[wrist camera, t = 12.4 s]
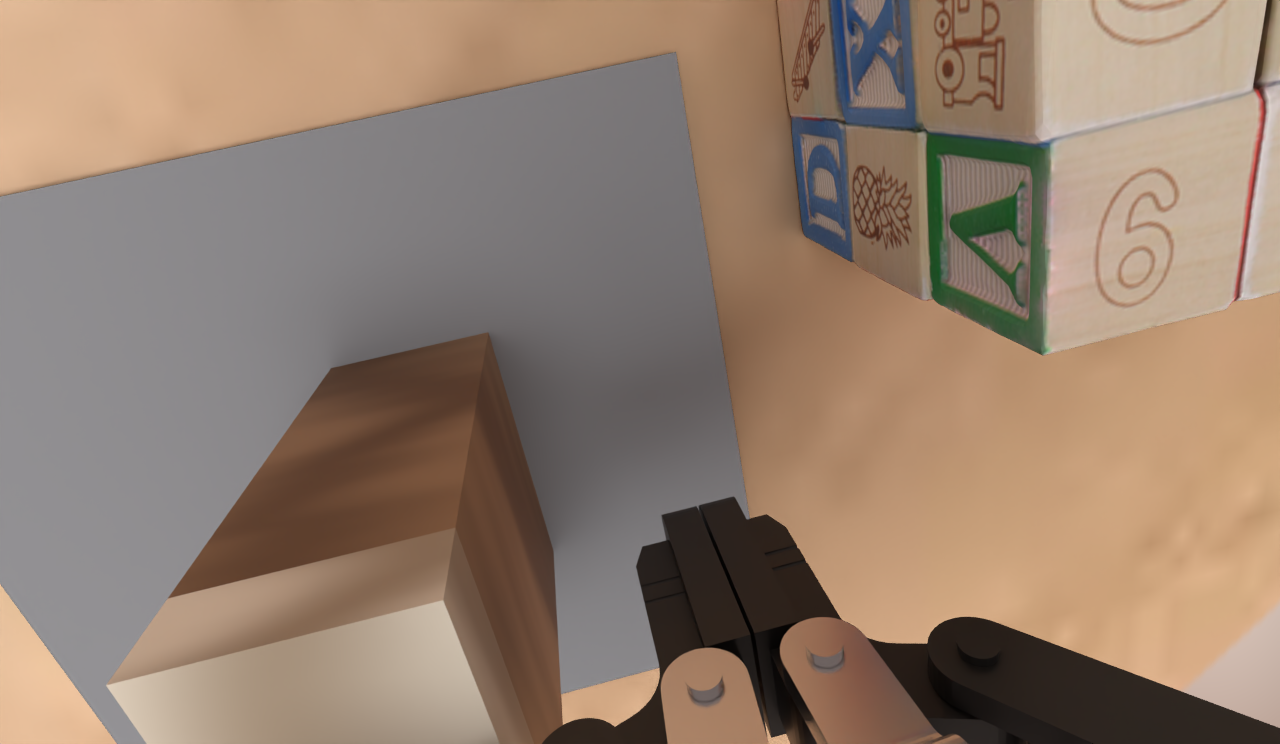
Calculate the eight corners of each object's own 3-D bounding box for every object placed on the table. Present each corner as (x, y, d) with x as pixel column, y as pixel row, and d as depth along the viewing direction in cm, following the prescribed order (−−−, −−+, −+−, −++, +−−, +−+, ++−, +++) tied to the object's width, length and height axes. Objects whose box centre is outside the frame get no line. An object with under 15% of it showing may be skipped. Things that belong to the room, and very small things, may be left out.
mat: (672, 52, 16) (676, 52, 16) (764, 629, 23) (768, 638, 23) (-227, 245, 15) (-245, 249, 14) (165, 790, 22) (159, 802, 22)
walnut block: (488, 331, 17) (443, 600, 8) (553, 550, 20) (573, 930, 11) (330, 368, 17) (106, 684, 8) (418, 584, 20) (326, 1001, 11)
